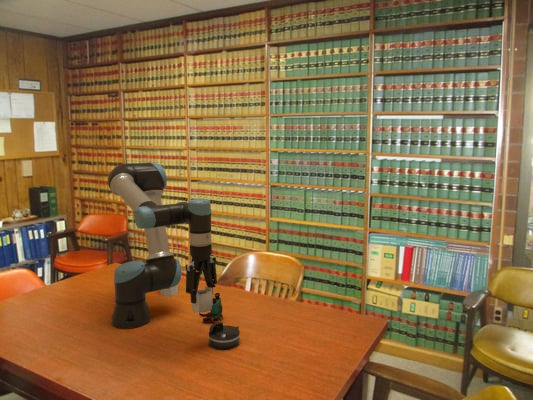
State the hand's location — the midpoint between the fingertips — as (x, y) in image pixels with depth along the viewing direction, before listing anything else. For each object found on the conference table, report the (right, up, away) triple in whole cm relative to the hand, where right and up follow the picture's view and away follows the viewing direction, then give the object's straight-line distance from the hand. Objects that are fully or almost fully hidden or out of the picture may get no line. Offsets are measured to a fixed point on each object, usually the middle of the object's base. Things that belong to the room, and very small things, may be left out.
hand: (202, 307), depth 149 cm
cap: (0, 0, 0) cm, 0 cm away
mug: (-23, -6, +54) cm, 59 cm away
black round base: (+7, -13, +4) cm, 16 cm away
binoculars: (0, -11, +23) cm, 25 cm away
